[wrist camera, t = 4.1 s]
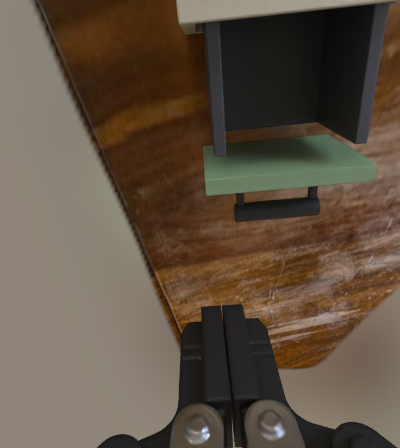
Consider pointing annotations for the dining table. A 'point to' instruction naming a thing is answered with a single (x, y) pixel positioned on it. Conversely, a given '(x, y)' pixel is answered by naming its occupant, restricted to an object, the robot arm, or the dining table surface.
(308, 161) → the drawer
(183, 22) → the small bedside cabinet
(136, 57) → the dining table surface
